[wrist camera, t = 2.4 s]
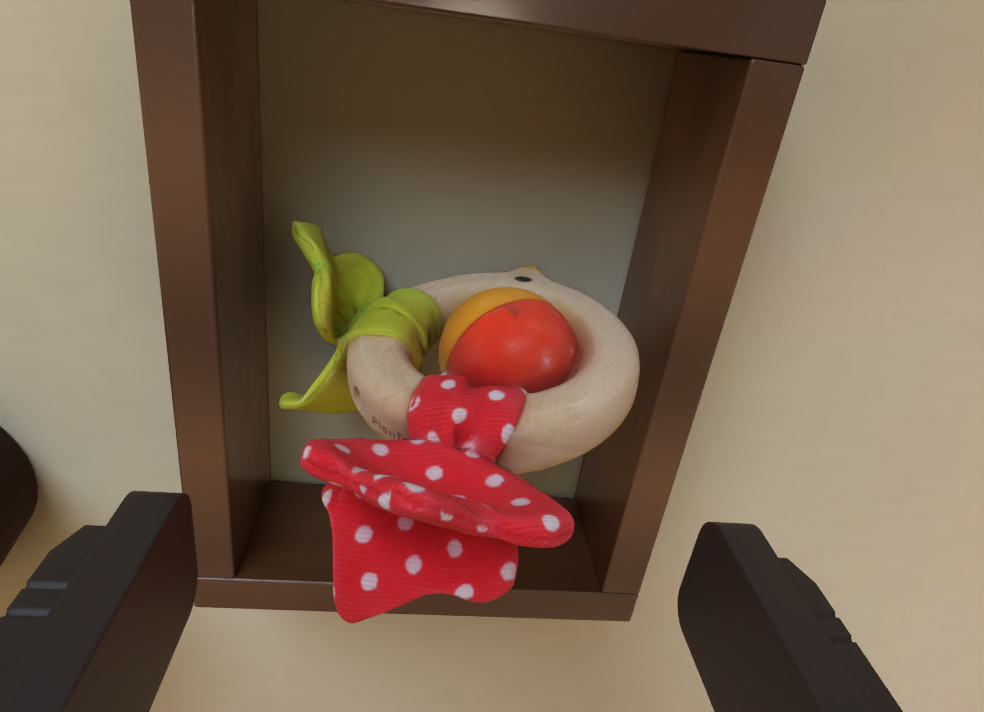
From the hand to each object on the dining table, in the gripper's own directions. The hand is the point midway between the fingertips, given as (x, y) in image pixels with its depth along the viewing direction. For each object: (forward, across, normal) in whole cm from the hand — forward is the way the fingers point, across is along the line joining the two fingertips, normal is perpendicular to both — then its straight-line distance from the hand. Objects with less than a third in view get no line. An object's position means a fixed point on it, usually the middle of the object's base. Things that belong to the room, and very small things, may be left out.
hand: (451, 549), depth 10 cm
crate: (+11, 0, 0) cm, 11 cm away
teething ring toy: (+11, 0, 0) cm, 11 cm away
